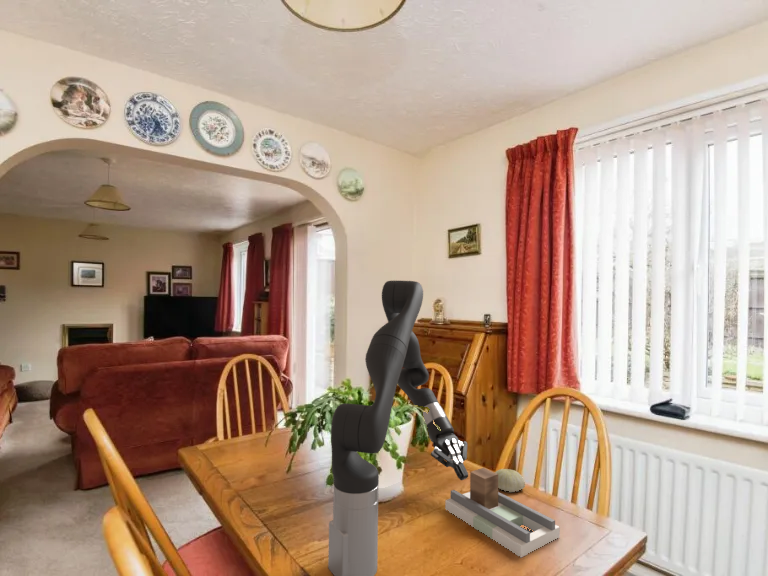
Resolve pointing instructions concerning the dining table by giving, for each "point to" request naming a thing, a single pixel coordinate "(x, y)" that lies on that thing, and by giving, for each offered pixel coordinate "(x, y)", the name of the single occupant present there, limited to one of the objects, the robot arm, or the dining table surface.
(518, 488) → the sea urchin shell
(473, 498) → the walnut block
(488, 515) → the lane deck
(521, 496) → the dining table surface
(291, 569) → the dining table surface
